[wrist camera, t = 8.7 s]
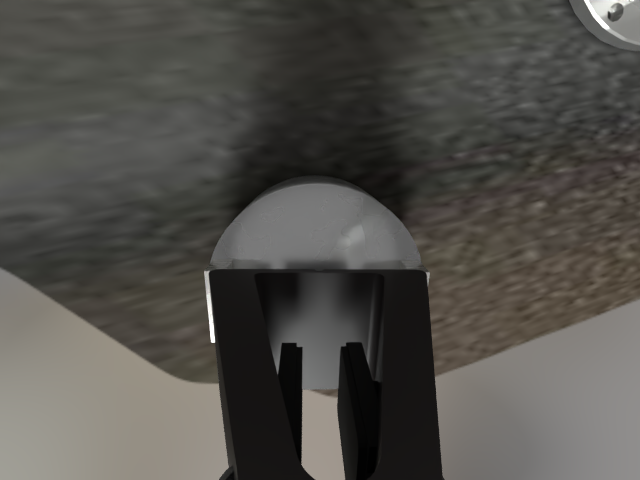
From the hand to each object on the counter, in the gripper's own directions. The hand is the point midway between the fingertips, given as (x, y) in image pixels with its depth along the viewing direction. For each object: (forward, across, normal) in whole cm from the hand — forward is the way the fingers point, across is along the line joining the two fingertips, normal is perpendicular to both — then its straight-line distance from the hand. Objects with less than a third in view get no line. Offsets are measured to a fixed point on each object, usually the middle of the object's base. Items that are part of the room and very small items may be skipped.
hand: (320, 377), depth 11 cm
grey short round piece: (+11, 0, 0) cm, 11 cm away
